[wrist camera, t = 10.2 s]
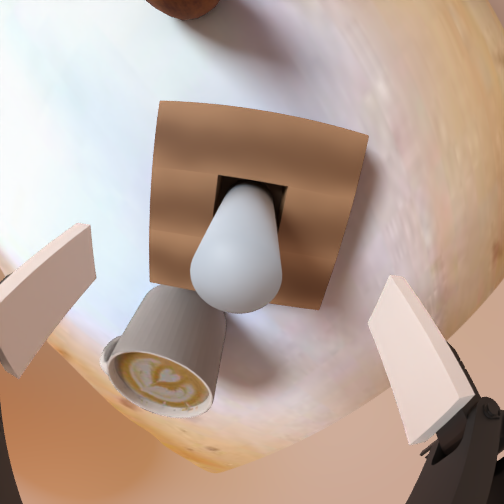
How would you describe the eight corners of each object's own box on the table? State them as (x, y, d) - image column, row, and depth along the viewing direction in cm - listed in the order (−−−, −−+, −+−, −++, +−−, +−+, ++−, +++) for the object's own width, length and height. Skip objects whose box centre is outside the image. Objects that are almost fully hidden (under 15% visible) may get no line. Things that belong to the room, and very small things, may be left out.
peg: (228, 175, 22) (193, 226, 11) (277, 183, 22) (291, 242, 11) (221, 221, 24) (188, 305, 13) (268, 229, 24) (271, 319, 13)
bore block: (176, 103, 20) (159, 100, 17) (352, 133, 21) (369, 135, 17) (163, 261, 27) (149, 281, 23) (312, 285, 27) (318, 310, 24)
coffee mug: (222, 283, 28) (204, 356, 19) (229, 353, 32) (219, 423, 23) (107, 279, 28) (61, 336, 19) (129, 344, 33) (100, 402, 24)
